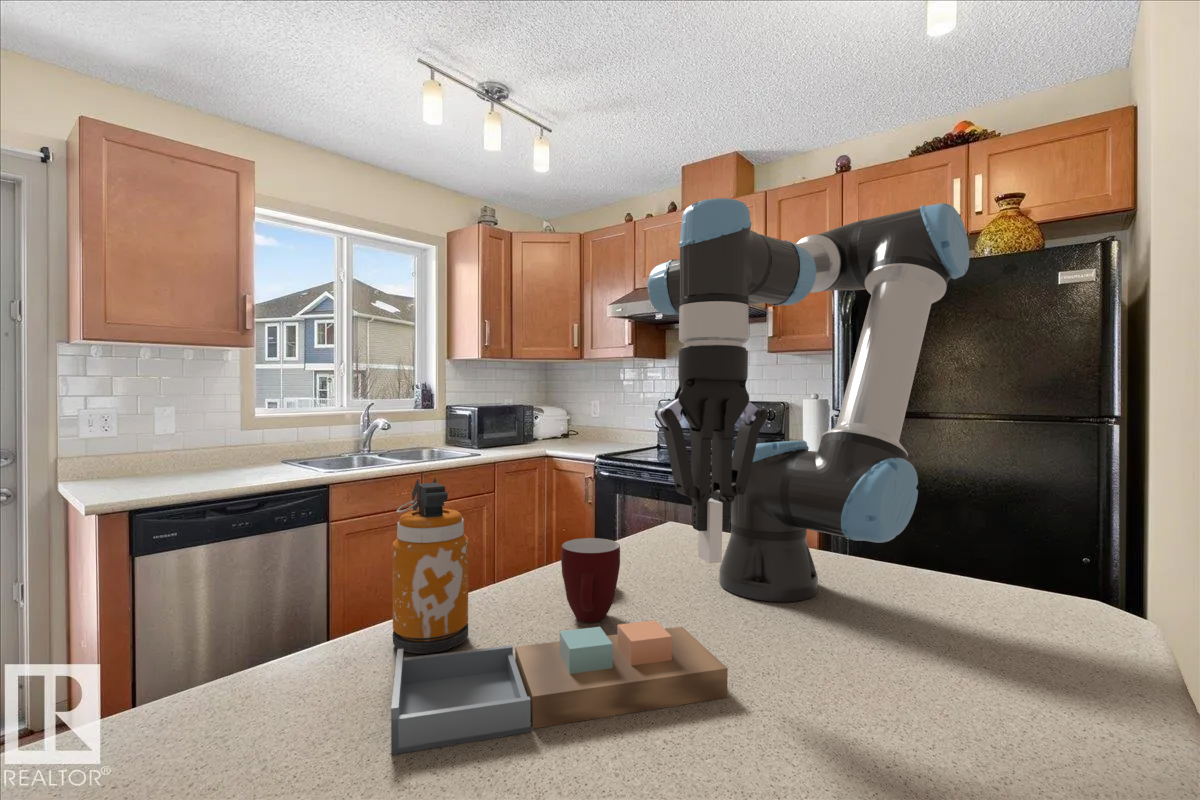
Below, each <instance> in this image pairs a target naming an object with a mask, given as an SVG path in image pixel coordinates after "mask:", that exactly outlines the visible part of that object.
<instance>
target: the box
mask: <svg viewBox="0 0 1200 800" xmlns="http://www.w3.org/2000/svg"><path fill="white" fill-rule="evenodd" d="M513 647H514V646H513V644H511V645H510V644H508V645H502V646H501V645H499V646H494V647H486V648H485V647H484V648H477V649H468V650H461V651H458V650H457V651H451V652H443V653H441V652H440V653H432V654H424V655H419V656H409V657H404V651H403V649H398V648H397V650H396V660H395V668H394V670H395V671H394V679H393V686H392V697H391V708H390V727H391V728H390V731H391V732H390V734H391V735H390V737H391V739H390V741H391V742H390V744H391V745H390V751H391V752H390V754H391V756H392V755H399V754H405V753H411V752H412V753H413V752H418V751H423V750H430V749H435V748H442V747H447V746H455V745H459V744H460V745H461V744H467V743H473V742H479V741H485V740H491V739H498V738H503V737H509V736H515V735H521V734H528V733H531V722H530V697H527V694H526V691H525V688H524V685H523V682H522V679H521V676H520V673H519V670H518V667H517V664H516V661H515V656H514V655H515V654H514V651H513V650H514V649H513Z"/></svg>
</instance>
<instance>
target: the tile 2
mask: <svg viewBox="0 0 1200 800" xmlns="http://www.w3.org/2000/svg"><path fill="white" fill-rule="evenodd" d="M665 629H666V628H664V627H663V625H661V624H660V623H659V622H658V621H657V620H646V621H638V622H629V623H621V624H617V629H616V630H617V634H616V635H617V647H618V649H619V650H620V651H621V653H622V654H623V655H624V657H625V658H626V659H627V661H628V662H629V664H630V665H631V666H632V665H639V664H647V663H654V662H661V661H669V660H672V636H671V635H670V634H669V633H668V632H667V631H666V630H665Z"/></svg>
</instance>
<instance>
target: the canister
mask: <svg viewBox="0 0 1200 800" xmlns="http://www.w3.org/2000/svg"><path fill="white" fill-rule="evenodd" d="M448 494H449V493H448V491H446V486H445V485H444V484H443V485H442V484H440V483H438V481H437V478H436V477H434V478H433V482H426V483H425V482H424V483H420V480H419V478H417V479H416V482H415V484H414V487H413V490H412V493H411V499H412V500H411V501H409V502H406V503H405V504H403V505H401V506H400V507H398V509H397V510H396V512H397V514H401V513H403V514H402V515H401V516H400V517H399V521H398V522H397V524H396V525H397V527H396V528H397V531H396V532H397V534H396V535H397V536H396V539H395V540H393V542H392V644H393V645H394V647H395V648H397V649H403V652H406V653H407V652H408V653H413V654H418V655H420V654H421V655H422V654H423V655H431V654H438V653H441V652H444V651H446V650H449V649H452V648H454V647H456V646H458V645H460V644H462V643H463V642H464V641H465V640H467V638H468V637H469V537H468V536H467V535H466V534H465V531H464V530H465V529H464V527H465V526H464V523H465V521H464V518H463V515H462V513H461V512H459V511H458V510H455V509H450V508H443V507H444V506H445V502H447V501H448V499H449V497H448V496H449V495H448ZM410 504H412V505H411V506H409V505H410ZM406 506H409V507H408V508H405V507H406ZM403 508H405V509H403ZM411 509H412V510H411ZM410 510H411V511H410ZM407 511H408V512H407Z"/></svg>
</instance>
